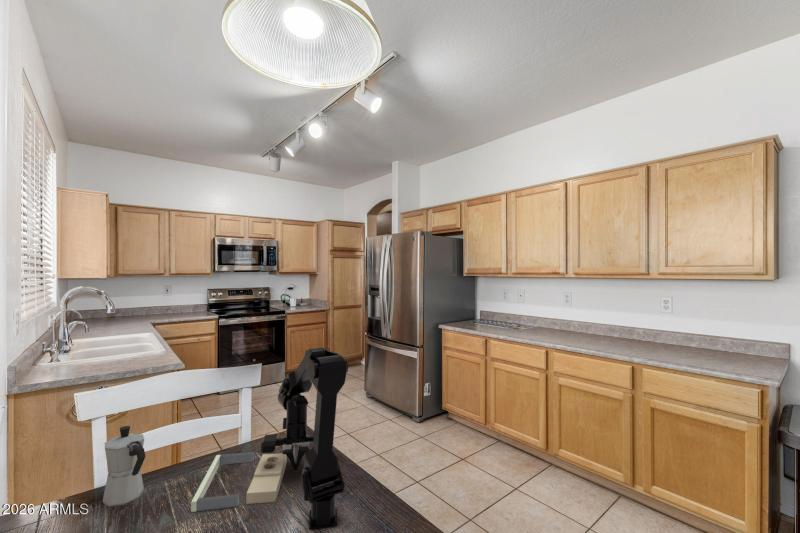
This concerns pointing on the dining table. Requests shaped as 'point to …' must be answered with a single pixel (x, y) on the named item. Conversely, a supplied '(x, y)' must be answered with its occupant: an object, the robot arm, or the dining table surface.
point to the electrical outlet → (267, 479)
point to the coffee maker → (124, 468)
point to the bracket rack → (217, 501)
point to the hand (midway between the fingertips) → (295, 470)
